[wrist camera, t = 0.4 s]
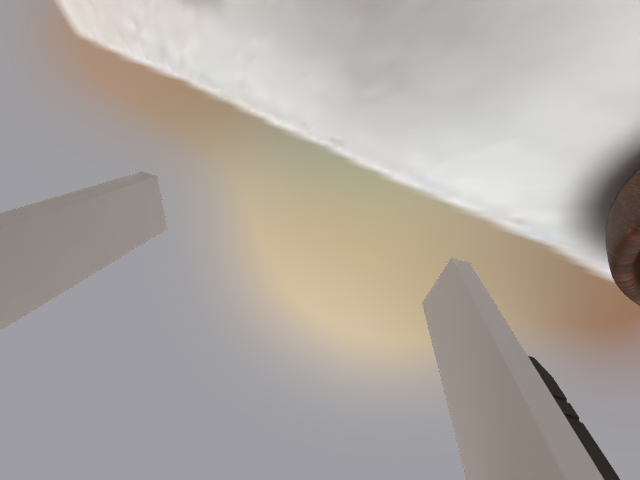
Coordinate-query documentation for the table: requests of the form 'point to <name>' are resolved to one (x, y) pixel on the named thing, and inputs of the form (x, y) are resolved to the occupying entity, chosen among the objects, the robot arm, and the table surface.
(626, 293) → the wooden bowl
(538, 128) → the table surface
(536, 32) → the table surface
